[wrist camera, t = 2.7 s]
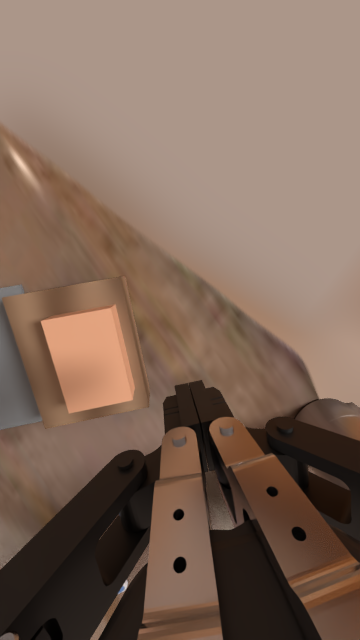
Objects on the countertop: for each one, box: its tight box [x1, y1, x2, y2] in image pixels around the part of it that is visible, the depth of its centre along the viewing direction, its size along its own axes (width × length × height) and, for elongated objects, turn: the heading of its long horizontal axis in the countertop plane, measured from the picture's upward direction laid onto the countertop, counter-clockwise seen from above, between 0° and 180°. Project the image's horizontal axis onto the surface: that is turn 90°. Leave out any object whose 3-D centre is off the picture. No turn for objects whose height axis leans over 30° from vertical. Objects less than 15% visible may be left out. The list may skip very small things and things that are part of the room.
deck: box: [2, 276, 150, 429], centre depth 26 cm, size 11×14×4 cm
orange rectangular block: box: [41, 304, 135, 413], centre depth 23 cm, size 6×9×2 cm, turn 10°
